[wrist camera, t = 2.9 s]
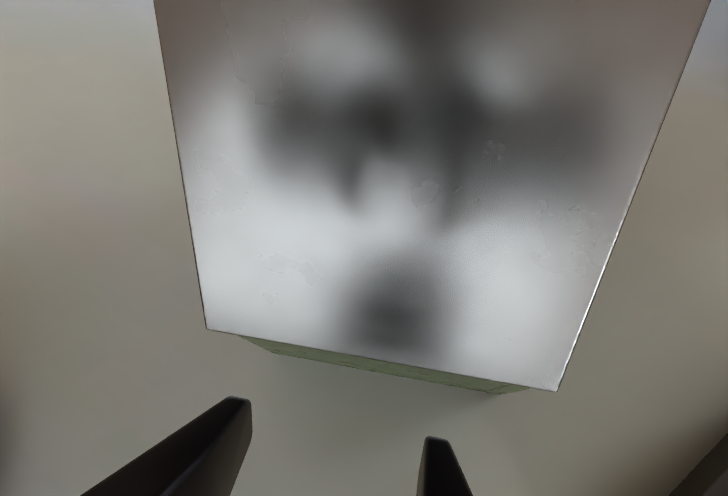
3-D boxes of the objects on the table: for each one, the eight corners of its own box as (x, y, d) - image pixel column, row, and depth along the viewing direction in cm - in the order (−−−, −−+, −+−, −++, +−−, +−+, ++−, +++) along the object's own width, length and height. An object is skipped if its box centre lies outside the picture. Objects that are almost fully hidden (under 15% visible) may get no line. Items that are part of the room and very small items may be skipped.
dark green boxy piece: (323, 148, 27) (297, 57, 20) (516, 170, 25) (560, 78, 18) (272, 352, 22) (215, 325, 15) (501, 394, 21) (550, 385, 14)
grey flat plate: (144, -187, 9) (118, -203, 8) (763, -186, 7) (795, -207, 7) (216, 316, 15) (205, 330, 15) (552, 375, 14) (557, 393, 13)
